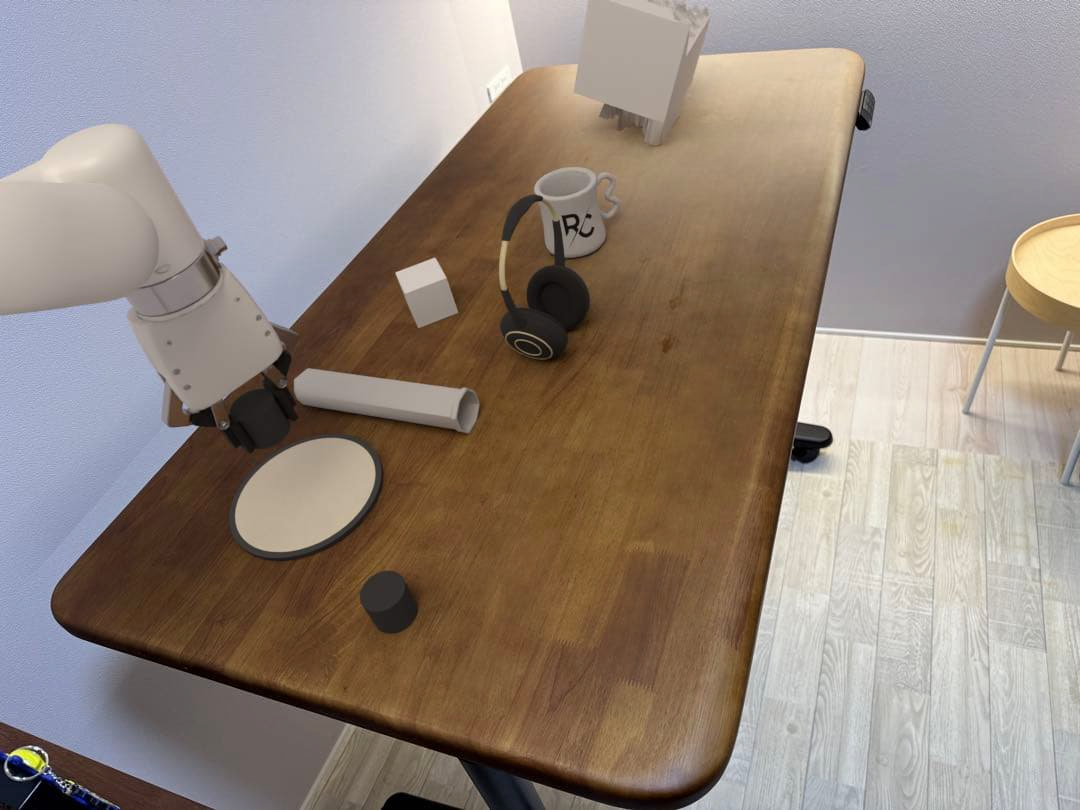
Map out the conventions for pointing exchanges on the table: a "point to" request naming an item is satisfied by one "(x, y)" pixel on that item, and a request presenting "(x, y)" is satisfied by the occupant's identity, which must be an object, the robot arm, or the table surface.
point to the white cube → (427, 292)
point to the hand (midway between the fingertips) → (267, 429)
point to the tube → (389, 399)
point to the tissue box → (640, 61)
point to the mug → (575, 208)
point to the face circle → (306, 497)
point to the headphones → (542, 295)
